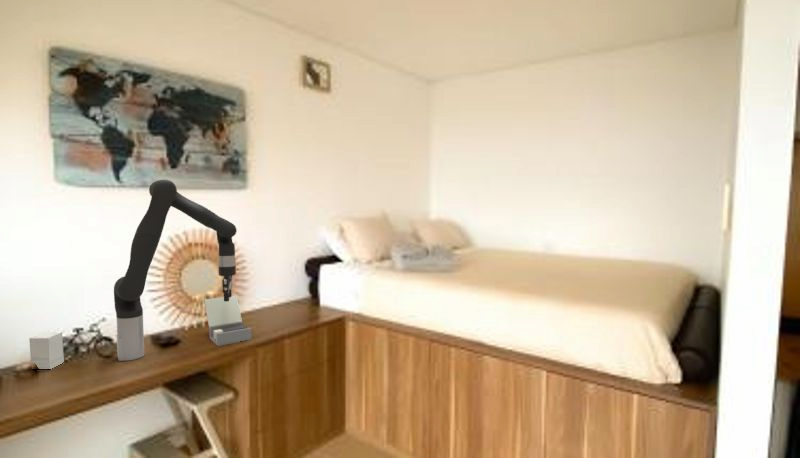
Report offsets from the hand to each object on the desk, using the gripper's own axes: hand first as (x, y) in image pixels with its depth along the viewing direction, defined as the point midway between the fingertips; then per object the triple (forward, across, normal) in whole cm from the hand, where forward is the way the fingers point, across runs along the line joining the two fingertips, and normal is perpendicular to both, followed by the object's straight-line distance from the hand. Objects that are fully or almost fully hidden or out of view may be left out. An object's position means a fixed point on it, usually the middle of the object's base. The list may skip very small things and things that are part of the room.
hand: (227, 299), depth 206 cm
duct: (+18, -3, -1) cm, 18 cm away
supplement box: (+19, -22, +63) cm, 69 cm away
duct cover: (+7, +6, +3) cm, 9 cm away
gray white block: (+17, -3, -1) cm, 18 cm away
